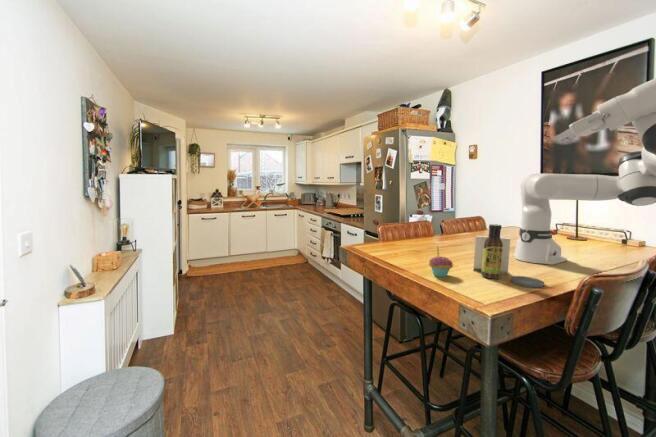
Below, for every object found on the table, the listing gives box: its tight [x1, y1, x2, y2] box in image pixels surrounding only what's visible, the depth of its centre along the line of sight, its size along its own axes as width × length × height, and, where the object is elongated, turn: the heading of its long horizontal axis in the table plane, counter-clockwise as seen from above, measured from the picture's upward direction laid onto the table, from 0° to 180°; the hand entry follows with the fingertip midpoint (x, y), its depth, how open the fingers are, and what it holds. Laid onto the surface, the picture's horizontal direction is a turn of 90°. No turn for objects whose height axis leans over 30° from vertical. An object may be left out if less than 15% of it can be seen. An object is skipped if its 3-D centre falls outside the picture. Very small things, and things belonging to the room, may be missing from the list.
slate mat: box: [510, 275, 545, 289], centre depth 113 cm, size 10×10×1 cm
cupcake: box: [428, 244, 454, 278], centre depth 122 cm, size 9×8×12 cm
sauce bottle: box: [481, 223, 503, 280], centre depth 119 cm, size 6×6×20 cm
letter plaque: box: [473, 235, 511, 275], centre depth 127 cm, size 12×4×14 cm, turn 64°
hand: (559, 138), depth 108 cm, fingers open, 8 cm apart
